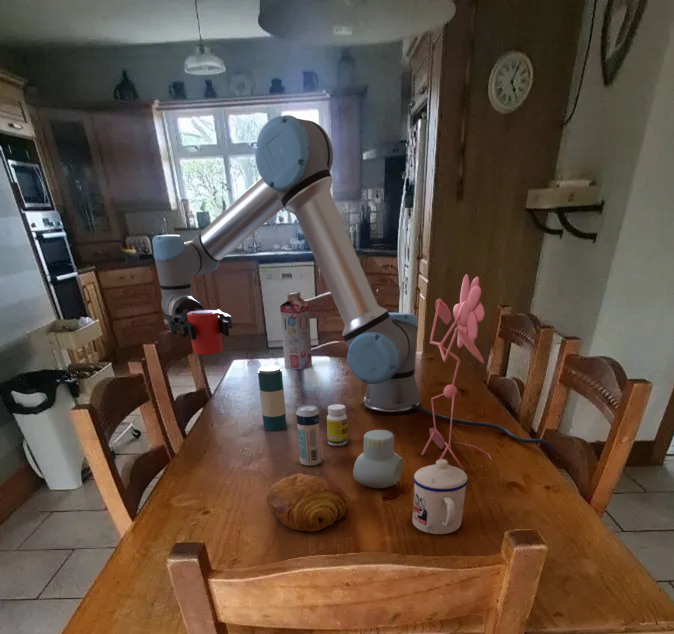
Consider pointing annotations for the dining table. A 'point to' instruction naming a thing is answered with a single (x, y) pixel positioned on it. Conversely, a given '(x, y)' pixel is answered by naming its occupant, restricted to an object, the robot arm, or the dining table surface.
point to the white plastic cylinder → (308, 435)
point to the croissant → (307, 501)
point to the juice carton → (296, 332)
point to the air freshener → (378, 461)
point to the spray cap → (205, 331)
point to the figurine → (467, 330)
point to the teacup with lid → (439, 498)
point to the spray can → (272, 397)
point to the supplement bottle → (336, 425)
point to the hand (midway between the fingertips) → (209, 330)
